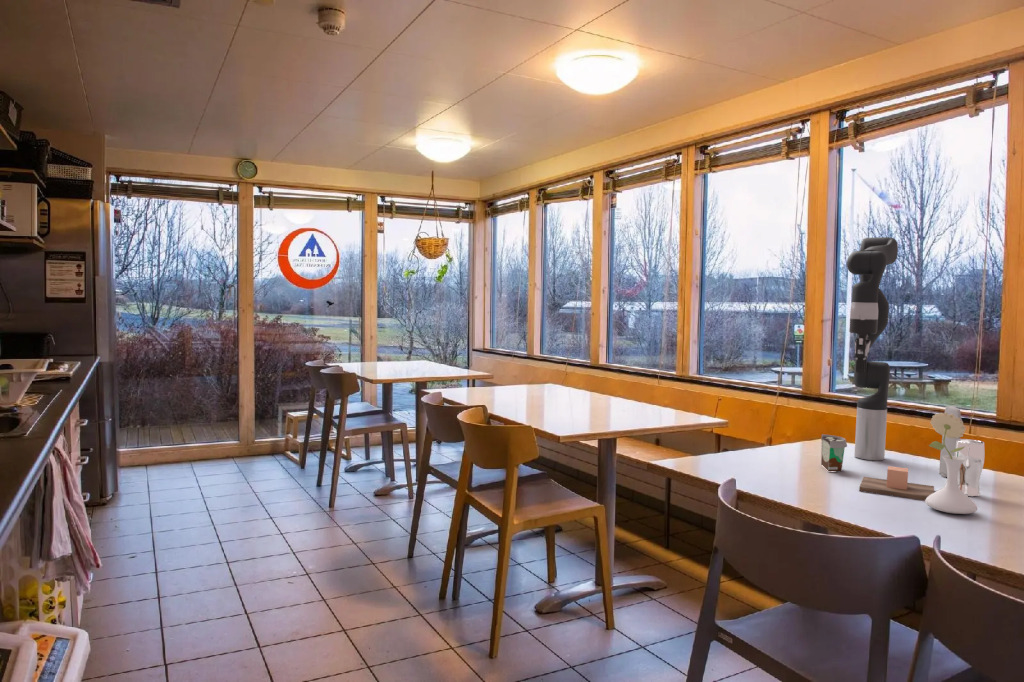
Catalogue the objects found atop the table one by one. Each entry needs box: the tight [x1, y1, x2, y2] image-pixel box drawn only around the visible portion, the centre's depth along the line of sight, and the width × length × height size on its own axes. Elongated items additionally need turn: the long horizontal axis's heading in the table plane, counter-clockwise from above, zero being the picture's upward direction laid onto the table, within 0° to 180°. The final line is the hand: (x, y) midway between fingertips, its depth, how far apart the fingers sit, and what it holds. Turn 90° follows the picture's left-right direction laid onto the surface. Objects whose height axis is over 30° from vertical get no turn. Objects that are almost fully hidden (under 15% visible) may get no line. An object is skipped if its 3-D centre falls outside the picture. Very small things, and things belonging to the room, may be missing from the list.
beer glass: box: [955, 438, 986, 497], centre depth 195 cm, size 7×7×15 cm
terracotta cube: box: [886, 465, 909, 490], centre depth 198 cm, size 5×5×5 cm
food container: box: [820, 433, 848, 472], centre depth 222 cm, size 12×6×10 cm, turn 168°
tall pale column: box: [938, 405, 963, 478], centre depth 215 cm, size 11×4×22 cm, turn 174°
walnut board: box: [858, 476, 935, 501], centre depth 198 cm, size 14×18×1 cm
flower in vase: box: [924, 412, 978, 515], centre depth 179 cm, size 13×11×25 cm
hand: (861, 371), depth 212 cm, fingers open, 8 cm apart
